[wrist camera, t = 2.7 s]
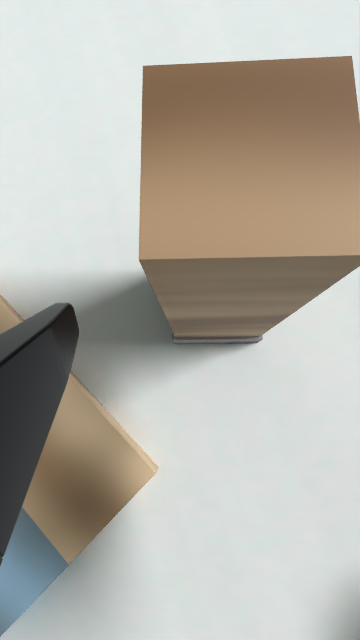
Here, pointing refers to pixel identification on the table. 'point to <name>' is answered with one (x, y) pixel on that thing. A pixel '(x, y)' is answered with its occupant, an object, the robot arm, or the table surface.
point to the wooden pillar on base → (247, 191)
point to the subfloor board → (67, 492)
